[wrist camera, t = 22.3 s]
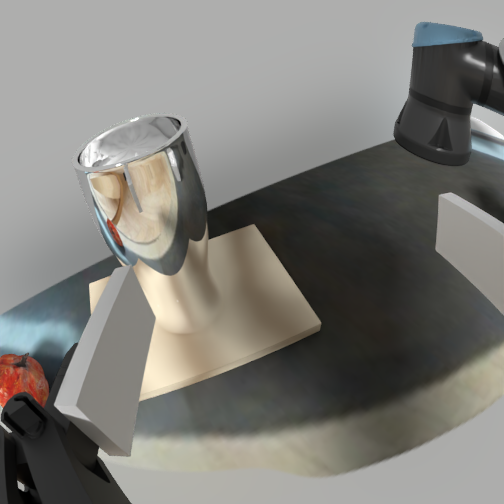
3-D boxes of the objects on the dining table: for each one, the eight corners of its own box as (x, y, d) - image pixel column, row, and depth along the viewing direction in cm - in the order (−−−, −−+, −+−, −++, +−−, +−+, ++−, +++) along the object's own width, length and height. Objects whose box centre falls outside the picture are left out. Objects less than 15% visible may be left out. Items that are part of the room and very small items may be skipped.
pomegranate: (45, 437, 19) (61, 396, 18) (-10, 427, 15) (-6, 380, 14) (38, 389, 23) (54, 343, 21) (-11, 377, 19) (-3, 325, 18)
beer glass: (143, 286, 27) (77, 136, 16) (215, 262, 28) (179, 103, 17) (156, 351, 22) (58, 190, 11) (240, 323, 23) (204, 140, 13)
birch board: (254, 232, 32) (254, 223, 31) (319, 330, 24) (321, 322, 23) (94, 291, 28) (89, 283, 27) (111, 409, 20) (104, 405, 19)
